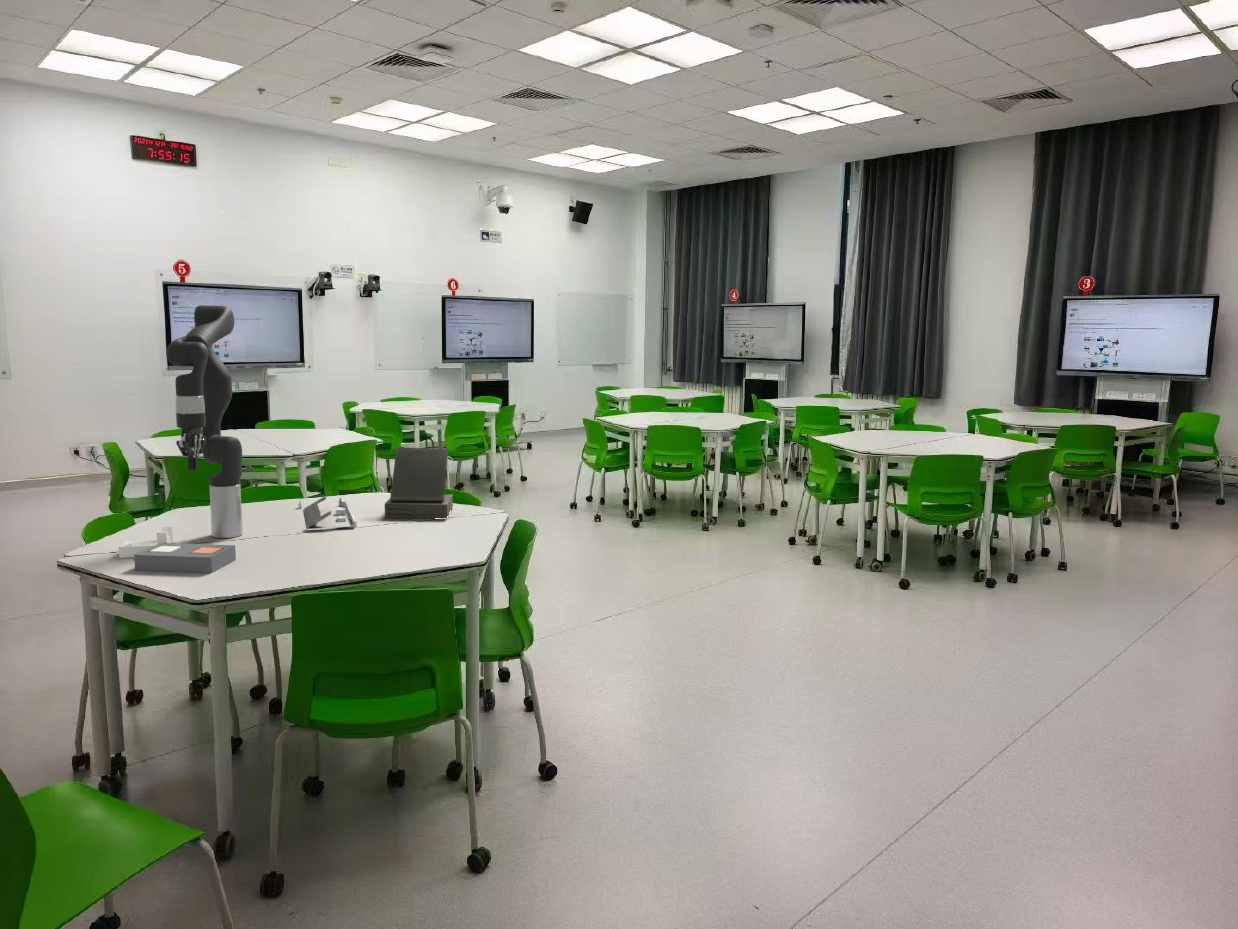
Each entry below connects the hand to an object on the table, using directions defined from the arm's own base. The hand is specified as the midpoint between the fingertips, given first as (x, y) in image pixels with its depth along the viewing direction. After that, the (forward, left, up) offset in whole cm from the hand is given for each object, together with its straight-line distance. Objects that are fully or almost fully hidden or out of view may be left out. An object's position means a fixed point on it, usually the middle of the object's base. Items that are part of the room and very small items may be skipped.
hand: (193, 470), depth 244 cm
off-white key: (+6, -6, -26) cm, 27 cm away
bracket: (-4, -18, -28) cm, 33 cm away
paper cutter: (-61, +16, -28) cm, 69 cm away
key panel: (+6, 0, -27) cm, 28 cm away
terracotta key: (+6, +6, -26) cm, 27 cm away
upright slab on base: (-73, +47, -28) cm, 91 cm away
